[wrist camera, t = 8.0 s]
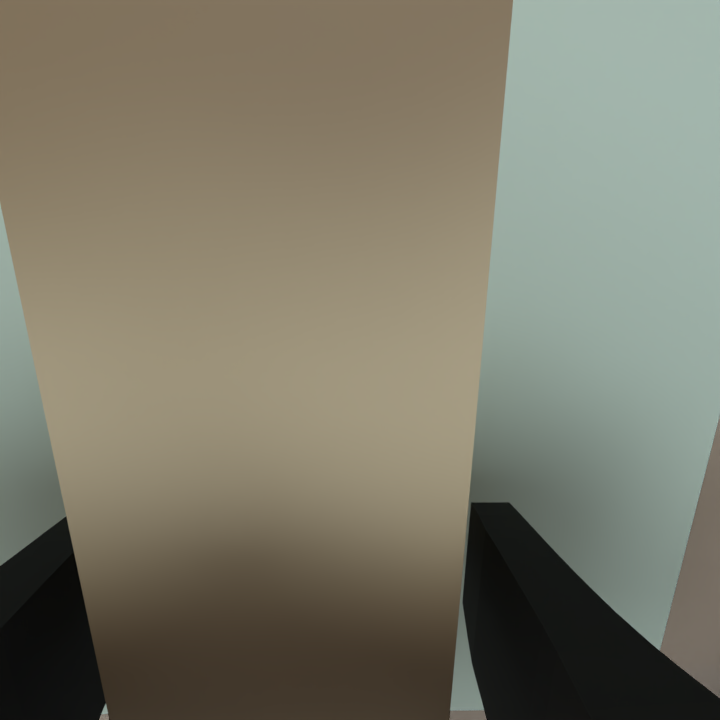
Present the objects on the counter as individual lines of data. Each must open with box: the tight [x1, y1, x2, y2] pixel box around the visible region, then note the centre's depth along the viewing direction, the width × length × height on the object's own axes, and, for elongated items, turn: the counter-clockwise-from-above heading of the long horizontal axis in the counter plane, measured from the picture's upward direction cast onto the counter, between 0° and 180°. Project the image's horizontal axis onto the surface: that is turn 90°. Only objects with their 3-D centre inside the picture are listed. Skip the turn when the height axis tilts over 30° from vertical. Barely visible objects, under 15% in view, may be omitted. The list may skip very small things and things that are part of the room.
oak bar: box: [0, 0, 513, 720], centre depth 6 cm, size 15×4×4 cm, turn 0°
